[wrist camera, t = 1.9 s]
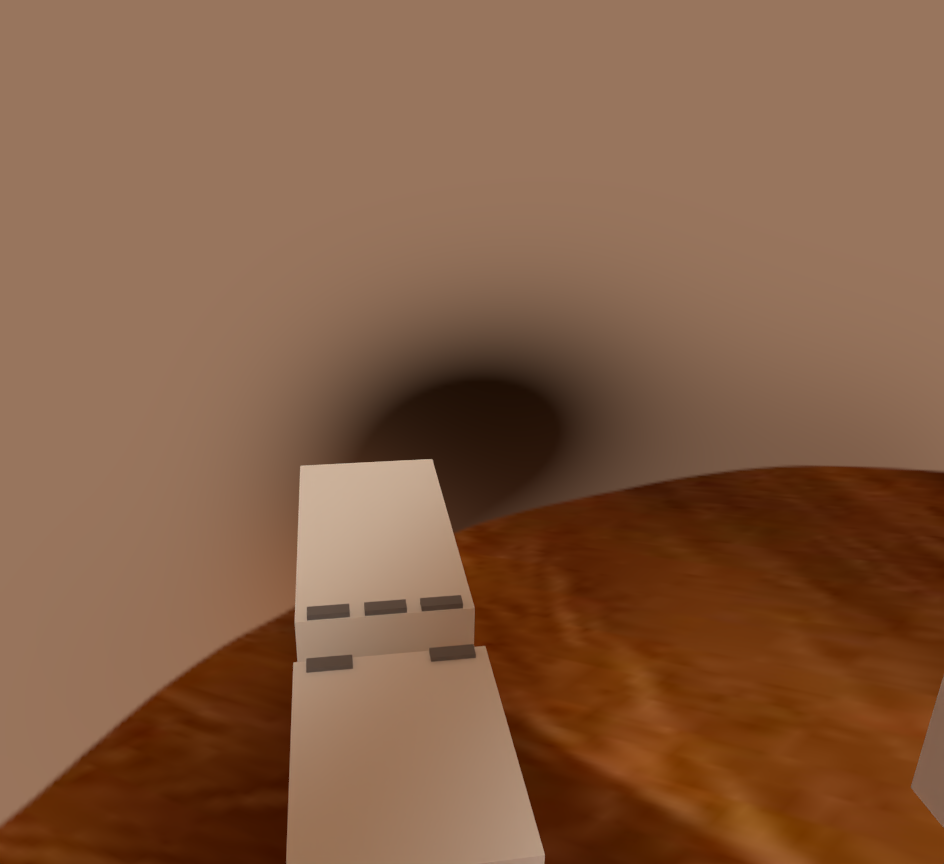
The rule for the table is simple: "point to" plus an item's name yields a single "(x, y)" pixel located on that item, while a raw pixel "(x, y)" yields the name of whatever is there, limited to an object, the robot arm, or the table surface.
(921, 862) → the table surface
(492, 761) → the stub
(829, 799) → the table surface
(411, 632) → the white slotted block
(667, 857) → the table surface
